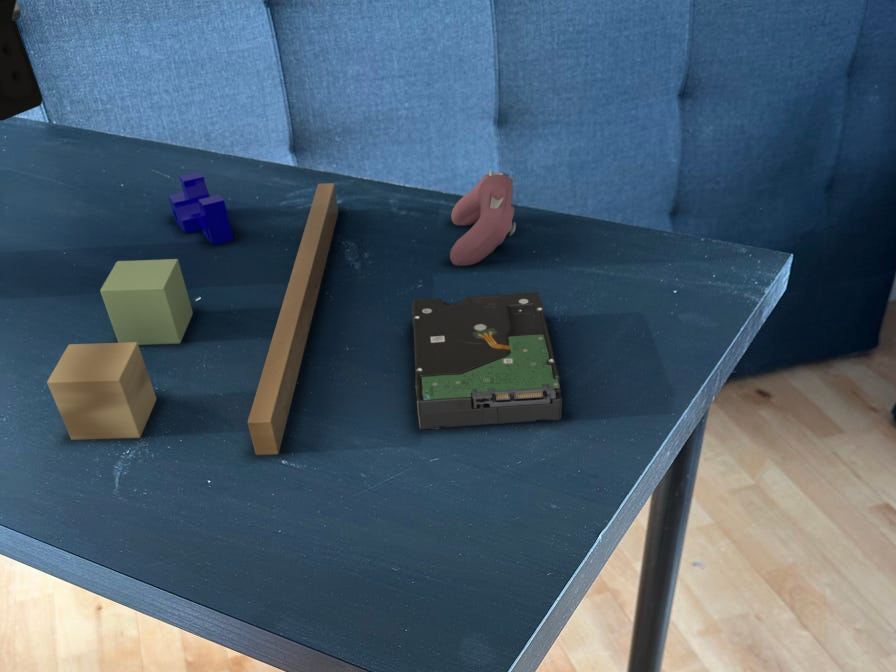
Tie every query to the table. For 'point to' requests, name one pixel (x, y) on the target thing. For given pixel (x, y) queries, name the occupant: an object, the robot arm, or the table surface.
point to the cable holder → (200, 210)
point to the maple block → (103, 390)
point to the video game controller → (483, 219)
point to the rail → (293, 326)
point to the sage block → (147, 301)
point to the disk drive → (484, 362)
